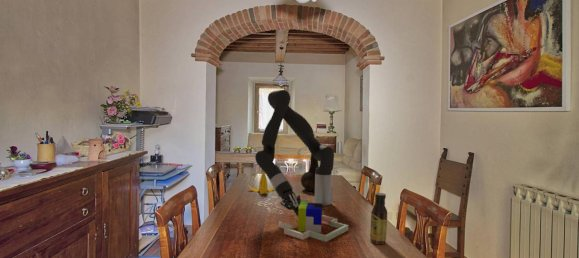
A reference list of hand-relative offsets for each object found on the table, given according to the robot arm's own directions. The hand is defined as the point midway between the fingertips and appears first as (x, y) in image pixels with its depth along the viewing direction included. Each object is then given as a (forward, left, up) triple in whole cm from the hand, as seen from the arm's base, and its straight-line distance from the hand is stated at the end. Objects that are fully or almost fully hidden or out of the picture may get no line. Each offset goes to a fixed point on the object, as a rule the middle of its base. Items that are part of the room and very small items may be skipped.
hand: (300, 215), depth 148 cm
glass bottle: (-46, -54, -5) cm, 71 cm away
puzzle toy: (-2, +5, -4) cm, 7 cm away
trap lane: (-2, +6, -4) cm, 8 cm away
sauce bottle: (-17, +32, -4) cm, 36 cm away
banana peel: (-15, -64, -5) cm, 66 cm away
